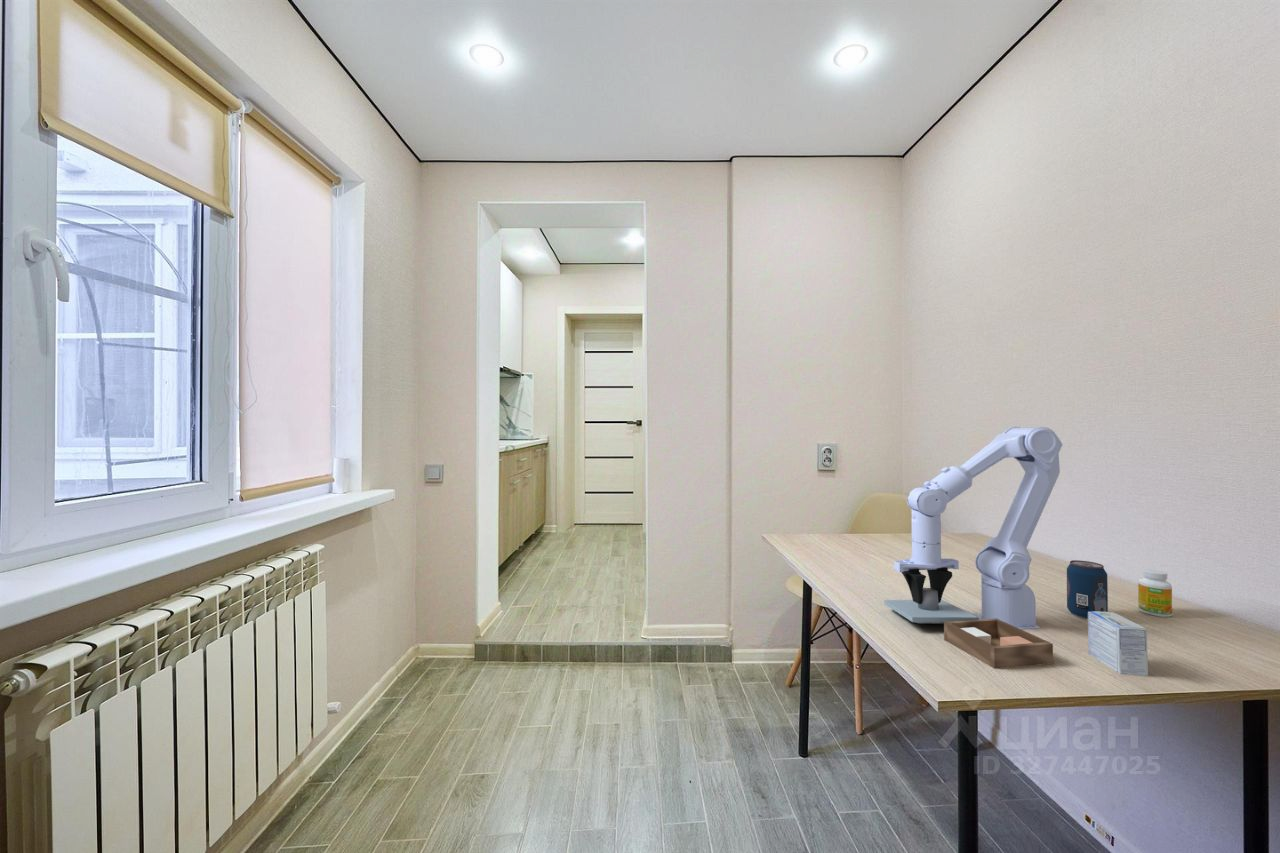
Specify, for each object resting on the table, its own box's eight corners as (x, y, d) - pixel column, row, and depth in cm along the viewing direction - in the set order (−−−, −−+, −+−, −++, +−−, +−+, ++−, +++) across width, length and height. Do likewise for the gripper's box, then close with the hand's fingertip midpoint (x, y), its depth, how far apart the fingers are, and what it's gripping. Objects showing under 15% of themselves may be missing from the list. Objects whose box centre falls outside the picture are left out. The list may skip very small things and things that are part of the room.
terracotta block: (1018, 650, 95) (1018, 635, 95) (1038, 660, 91) (1037, 645, 91) (1000, 651, 94) (1000, 637, 94) (1019, 661, 90) (1018, 646, 90)
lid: (943, 607, 116) (941, 582, 116) (979, 626, 102) (977, 597, 103) (884, 607, 116) (883, 582, 117) (912, 626, 103) (911, 597, 103)
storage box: (996, 637, 101) (996, 618, 101) (1053, 665, 89) (1052, 643, 89) (944, 641, 100) (943, 622, 100) (994, 670, 88) (994, 648, 88)
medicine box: (1149, 678, 84) (1148, 628, 84) (1118, 676, 85) (1118, 626, 85) (1114, 657, 92) (1114, 611, 92) (1087, 655, 93) (1086, 610, 93)
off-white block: (974, 641, 99) (974, 627, 99) (991, 649, 95) (990, 635, 95) (956, 642, 98) (956, 628, 98) (972, 651, 94) (972, 636, 94)
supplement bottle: (1146, 615, 112) (1146, 573, 112) (1133, 607, 117) (1133, 566, 117) (1178, 618, 110) (1177, 575, 110) (1163, 610, 115) (1162, 569, 115)
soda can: (1072, 608, 117) (1072, 557, 117) (1112, 617, 111) (1111, 564, 111) (1062, 614, 113) (1061, 562, 113) (1102, 624, 107) (1101, 569, 107)
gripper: (942, 536, 115) (942, 594, 115) (885, 538, 113) (885, 597, 113) (965, 543, 108) (966, 604, 108) (905, 546, 106) (906, 608, 106)
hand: (926, 601), depth 110 cm, fingers closed on lid, 4 cm apart
